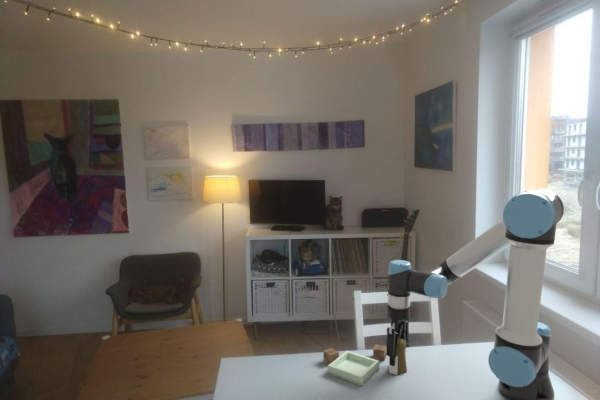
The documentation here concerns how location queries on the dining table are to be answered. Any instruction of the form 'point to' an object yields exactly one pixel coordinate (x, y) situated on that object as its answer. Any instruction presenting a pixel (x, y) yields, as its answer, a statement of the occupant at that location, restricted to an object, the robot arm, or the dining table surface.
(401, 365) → the olive tall rounded piece
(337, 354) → the walnut cube
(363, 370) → the tray
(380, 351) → the walnut cube
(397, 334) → the robot arm
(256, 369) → the dining table surface
